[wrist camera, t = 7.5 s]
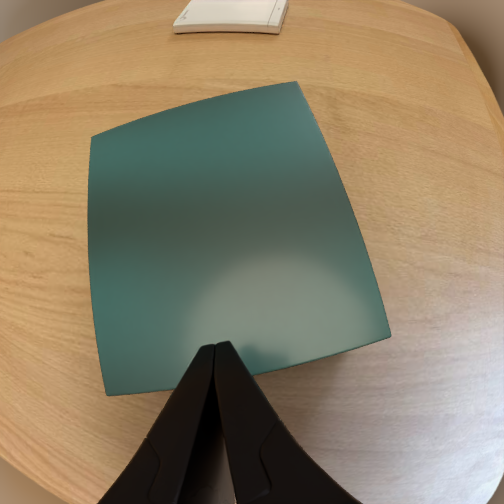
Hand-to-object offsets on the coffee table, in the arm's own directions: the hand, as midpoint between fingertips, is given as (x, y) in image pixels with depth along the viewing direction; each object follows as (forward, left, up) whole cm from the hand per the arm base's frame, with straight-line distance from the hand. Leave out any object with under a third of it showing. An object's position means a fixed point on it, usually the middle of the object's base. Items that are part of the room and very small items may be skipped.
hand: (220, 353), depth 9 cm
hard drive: (+36, +6, -12) cm, 38 cm away
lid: (+6, +2, -5) cm, 8 cm away
